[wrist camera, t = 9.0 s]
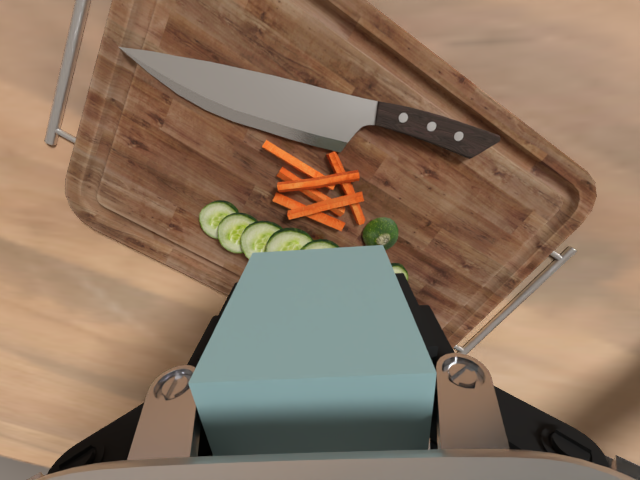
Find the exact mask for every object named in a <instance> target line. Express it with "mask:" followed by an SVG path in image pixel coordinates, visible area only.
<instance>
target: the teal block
mask: <svg viewBox="0 0 640 480" xmlns="http://www.w3.org/2000/svg"><path fill="white" fill-rule="evenodd" d="M436 375H437V372H436V370H435V368H434V365H433V363H432V360H431V358H430V356H429V353H428V351H427V349H426V346H425V344H424V341H423V339H422V337H421V334H420V332H419V330H418V327H417V325H416V322H415V320H414V318H413V315H412V313H411V311H410V308H409V306H408V303H407V301H406V299H405V296H404V294H403V292H402V289H401V287H400V284H399V282H398V280H397V277H396V275H395V273H394V270H393V268H392V265H391V263H390V261H389V258H388V256H387V254H386V251H385V249H384V246H383V245H375V246H358V247H341V248H324V249H308V250H291V251H274V252H257V253H252V255H251V257H250V259H249V261H248V263H247V265H246V267H245V269H244V271H243V273H242V275H241V277H240V279H239V281H238V283H237V286H236V288H235V290H234V292H233V294H232V296H231V298H230V300H229V302H228V304H227V306H226V308H225V310H224V312H223V314H222V316H221V318H220V320H219V322H218V324H217V326H216V328H215V330H214V332H213V334H212V336H211V338H210V340H209V342H208V344H207V346H206V348H205V350H204V352H203V354H202V356H201V358H200V360H199V362H198V364H197V366H196V368H195V370H194V372H193V374H192V376H191V378H190V381H189V383H188V384H189V387H190V390H191V393H192V396H193V399H194V401H195V404H196V407H197V410H198V413H199V416H200V419H201V422H202V425H203V427H204V430H205V433H206V436H207V439H208V442H209V445H210V448H211V451H212V454H213V456H228V455H255V454H286V453H318V452H352V451H391V450H428V446H429V437H430V428H431V419H432V410H433V402H434V393H435V384H436Z"/></svg>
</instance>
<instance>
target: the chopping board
mask: <svg viewBox="0 0 640 480" xmlns="http://www.w3.org/2000/svg"><path fill="white" fill-rule="evenodd" d="M90 2H91V0H75V5H74V9H73V14H72V18H71V23H70V27H69V32H68V36H67V41H66V45H65V50H64V54H63V59H62V63H61V68H60V72H59V77H58V82H57V86H56V91H55V95H54V100H53V104H52V109H51V113H50V118H49V122H48V127H47V131H46V136H45V140H44V141H45V142H46V143H47V144H49V145H57V141H58V137H59V135H60V136H62V137H64V138H66V139H67V140H69V141H71V142H73V143H75V144H74V148H73V152H72V156H71V160H70V163H69V167H68V171H67V175H66V179H65V195H66V197H67V200H68V202H69V205H70V208H71V209H72V210H73V211H74V213H75V214H76V215H77V216H78V217H79V219H80V220H81V221H83V222H84V223H86V224H87V225H88V226H90V227H91V228H93V229H94V230H96V231H98V232H100V233H102V234H104V235H106V236H109V237H111V238H113V239H115V240H117V241H119V242H121V243H123V244H125V245H127V246H129V247H131V248H133V249H135V250H137V251H139V252H141V253H143V254H145V255H147V256H149V257H151V258H153V259H155V260H157V261H159V262H161V263H164V264H166V265H168V266H170V267H172V268H174V269H176V270H178V271H180V272H182V273H184V274H186V275H188V276H190V277H192V278H194V279H196V280H198V281H200V282H202V283H204V284H206V285H208V286H210V287H212V288H214V289H216V290H219V291H221V292H223V293H225V294H227V295H229V294H230V292H231V290H232V288H233V286H234V284H235V283H236V282H238V281H239V279H240V277H241V275H242V273H243V271H244V269H245V267H246V265H247V263H248V261H249V259H250V257H251V255H252V253H257V252H274V251H291V250H308V249H324V248H341V247H358V246H375V245H383V246H384V249H385V251H386V254H387V256H388V258H389V261H390V263H391V265H392V268H393V270H394V273H404V275H405V277H406V279H407V281H408V283H409V285H410V288H411V290H412V292H413V294H414V296H415V298H416V300H417V302H418V304H419V305H429V306H430V308H431V309H432V311H433V313H434V315H435V317H436V319H437V321H438V323H439V324H440V326H441V328H442V330H443V332H444V334H445V336H446V338H447V340H448V341H449V343H450V345H451V347H452V348H455V349H457V350H459V351H458V352H457V353H461V354H465V355H466V354H467V353H469V352H470V351H471V350H472V349H473V348H474V347H475V346H476V345H477V344H478V343H479V342H480V341H481V340H483V339H484V338H485V337H486V336H487V335H488V334H489V333H490V332H491V331H492V330H493V329H494V328H495V327H496V326H498V325H499V324H500V323H501V322H502V321H503V320H504V319H505V318H506V317H507V316H508V315H509V314H510V313H512V312H513V311H514V310H515V309H516V308H517V307H518V306H519V305H520V304H521V303H522V302H523V301H524V300H526V299H527V298H528V297H529V296H530V295H531V294H532V293H533V292H534V291H535V290H536V289H537V288H538V287H539V286H541V285H542V284H543V283H544V282H545V281H546V280H547V279H548V278H549V277H550V276H551V275H552V274H553V273H555V272H556V271H557V270H558V269H559V268H560V267H561V266H562V265H563V264H564V263H565V262H566V261H567V260H568V259H570V258H571V257H572V256H573V255H574V254H575V253H576V252H577V250H575V249H574V248H572V247H570V246H569V247H567V248H566V249H565V250H564V251H563V252H562V253H561V254H559V253H557V252H556V251H554V250H555V249H556V248H557V247H558V246H559V245H560V244H561V243H562V242H564V241H565V240H566V239H567V238H568V237H569V236H570V235H571V234H572V233H573V232H574V231H575V230H576V229H577V228H578V227H579V226H580V225H581V224H582V223H583V222H584V220H585V219H586V218H587V216H588V215H589V214H590V212H591V211H592V208H593V205H594V202H595V200H596V197H597V195H596V186H595V181H594V180H593V179H592V177H591V176H590V175H589V173H588V172H587V171H586V170H585V169H583V168H582V167H581V166H579V165H578V164H577V163H576V162H574V161H573V160H572V159H570V158H569V157H568V156H566V155H565V154H564V153H563V152H561V151H560V150H559V149H557V148H556V147H555V146H554V145H552V144H551V143H550V142H548V141H547V140H546V139H545V138H543V137H542V136H541V135H539V134H538V133H537V132H535V131H534V130H533V129H532V128H530V127H529V126H528V125H526V124H525V123H524V122H523V121H521V120H520V119H519V118H517V117H516V116H515V115H513V114H512V113H511V112H510V111H508V110H507V109H506V108H504V107H503V106H502V105H501V104H499V103H498V102H497V101H495V100H494V99H493V98H492V97H490V96H489V95H488V94H486V93H485V92H484V91H482V90H481V89H480V88H479V87H477V86H476V85H475V84H473V83H472V82H471V81H470V80H468V79H467V78H466V77H464V76H463V75H462V74H460V73H459V72H458V71H457V70H455V69H454V68H453V67H451V66H450V65H449V64H448V63H446V62H445V61H444V60H442V59H441V58H440V57H439V56H437V55H436V54H435V53H433V52H432V51H431V50H429V49H428V48H427V47H426V46H424V45H423V44H422V43H420V42H419V41H418V40H417V39H415V38H414V37H413V36H411V35H410V34H409V33H407V32H406V31H405V30H404V29H402V28H401V27H400V26H398V25H397V24H396V23H395V22H393V21H392V20H391V19H389V18H388V17H387V16H386V15H384V14H383V13H382V12H380V11H379V10H378V9H376V8H375V7H374V6H373V5H371V4H370V3H369V2H367V1H366V0H112V3H111V7H110V11H109V14H108V18H107V22H106V26H105V30H104V34H103V37H102V41H101V45H100V49H99V53H98V56H97V60H96V64H95V68H94V72H93V76H92V79H91V83H90V87H89V91H88V95H87V98H86V102H85V106H84V110H83V114H82V118H81V121H80V125H79V129H78V133H77V137H75V136H73V135H71V134H69V133H67V132H66V131H64V130H62V129H60V128H61V124H62V120H63V116H64V111H65V107H66V103H67V99H68V95H69V90H70V86H71V82H72V78H73V74H74V69H75V65H76V61H77V57H78V53H79V49H80V44H81V40H82V36H83V32H84V28H85V23H86V19H87V15H88V11H89V7H90ZM549 255H551V256H552V257H554V258H555V260H554V261H553V262H552V263H551V264H550V265H549V266H547V267H546V268H545V269H544V270H543V271H542V272H541V273H540V274H539V275H538V276H537V277H536V278H535V279H534V280H533V281H532V282H531V283H530V284H529V285H527V286H526V287H525V288H524V289H523V290H522V291H521V292H520V293H519V294H518V295H517V296H516V297H515V298H514V299H513V300H512V301H511V302H510V303H509V304H507V305H506V306H505V307H504V308H503V309H502V310H501V311H500V312H499V313H498V314H497V315H496V316H495V317H494V318H493V319H492V320H491V321H490V322H489V323H487V324H486V325H485V326H484V327H483V328H482V329H481V330H480V331H479V332H478V333H477V334H476V335H475V336H474V337H473V338H472V339H471V340H470V341H469V342H467V343H466V344H465V345H464V346H463V347H461V346H459V345H457V344H458V343H459V342H460V341H461V340H462V339H463V338H464V337H465V336H466V335H467V334H468V333H469V332H470V331H471V330H472V329H473V328H474V327H475V326H476V325H477V324H478V323H479V322H480V321H482V320H483V319H484V318H485V317H486V316H487V315H488V314H489V313H490V312H491V311H492V310H493V309H494V308H495V307H496V306H497V305H498V304H499V303H500V302H501V301H502V300H503V299H504V298H505V297H506V296H507V295H509V294H510V293H511V292H512V291H513V290H514V289H515V288H516V287H517V286H518V285H519V284H520V283H521V282H522V281H523V280H524V279H525V278H526V277H527V276H528V275H529V274H530V273H531V272H532V271H533V270H534V269H536V268H537V267H538V266H539V265H540V264H541V263H542V262H543V261H544V260H545V259H546V258H547V257H548V256H549Z"/></svg>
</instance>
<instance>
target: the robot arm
mask: <svg viewBox="0 0 640 480" xmlns="http://www.w3.org/2000/svg"><path fill="white" fill-rule="evenodd" d="M395 275H396V277H397V280H398V282H399V284H400V287H401V289H402V292H403V294H404V296H405V299H406V301H407V303H408V306H409V308H410V311H411V313H412V315H413V318H414V320H415V322H416V325H417V327H418V330H419V332H420V334H421V337H422V339H423V341H424V344H425V346H426V349H427V351H428V353H429V356H430V358H431V360H432V363H433V365H434V368H435V370H436V372H437V375H436V384H435V393H434V402H433V410H432V419H431V428H430V437H429V446H428V448H429V450H391V451H352V452H318V453H286V454H255V455H228V456H213V454H212V451H211V448H210V445H209V442H208V439H207V436H206V433H205V430H204V427H203V425H202V422H201V419H200V416H199V413H198V410H197V407H196V404H195V401H194V399H193V396H192V393H191V390H190V387H189V384H188V383H189V381H190V378H191V376H192V374H193V372H194V370H195V368H196V366H197V364H198V362H199V360H200V358H201V356H202V354H203V352H204V350H205V348H206V346H207V344H208V342H209V340H210V338H211V336H212V334H213V332H214V330H215V328H216V326H217V324H218V322H219V320H220V318H221V316H222V314H223V312H224V310H225V308H226V306H227V304H228V302H229V300H230V298H231V296H232V294H233V292H234V290H235V288H236V286H237V283H238V282H236V283H235V284H234V286H233V288H232V290H231V292H230V294H229V296H228V298H227V300H226V301H225V303H224V305H223V307H222V309H221V311H220V313H219V315H218V316H214V317H213V318H212V319H211V321H210V323H209V325H208V327H207V329H206V331H205V332H204V334H203V336H202V338H201V340H200V342H199V344H198V346H197V347H196V349H195V351H194V353H193V355H192V357H191V359H190V361H189V362H188V364H187V365H180V366H176V367H173V368H170V369H169V370H167V371H165V372H163V373H162V374H161V375H159V376H158V377H157V378H156V379H155V380H154V381H153V382H152V384H151V385H150V387H149V390H148V392H147V396H146V399H145V402H144V403H143V404H141V405H140V406H138V407H136V408H135V409H133V410H131V411H130V412H128V413H127V414H125V415H123V416H122V417H120V418H118V419H117V420H115V421H114V422H112V423H110V424H109V425H107V426H105V427H104V428H102V429H101V430H99V431H97V432H96V433H94V434H92V435H91V436H89V437H87V438H86V439H84V440H83V441H81V442H79V443H78V444H76V445H75V446H73V447H72V448H70V449H69V450H68V451H66V452H65V453H64V454H63V455H62V456H61V457H60V458H59V459H58V460H57V461H56V462H55V463H54V465H53V466H52V467H51V469H50V470H49V472H48V474H46V475H43V474H42V473H41V472H40V473H38V474H36V475H34V476H32V477H31V478H29V479H27V480H640V466H638V465H636V464H634V463H632V462H630V461H627V460H625V459H623V458H621V457H619V456H617V455H616V456H615V458H614V459H612V458H609V457H607V456H605V455H604V453H603V452H602V451H601V450H600V448H599V447H598V446H597V445H596V444H595V443H594V442H593V441H592V440H591V439H590V438H588V437H587V436H586V435H585V434H583V433H581V432H580V431H578V430H577V429H575V428H573V427H571V426H569V425H567V424H566V423H564V422H562V421H560V420H558V419H556V418H554V417H552V416H550V415H548V414H546V413H545V412H543V411H541V410H539V409H537V408H535V407H533V406H531V405H529V404H527V403H526V402H524V401H522V400H520V399H518V398H516V397H514V396H512V395H510V394H508V393H507V392H505V391H503V390H501V389H499V388H497V387H495V386H494V385H493V381H492V377H491V375H490V373H489V370H488V369H487V368H486V367H485V366H484V365H483V364H482V363H481V362H480V361H478V360H477V359H475V358H473V357H471V356H468V355H465V354H461V353H454V351H453V349H452V347H451V345H450V343H449V341H448V340H447V338H446V336H445V334H444V332H443V330H442V328H441V326H440V324H439V323H438V321H437V319H436V317H435V315H434V313H433V311H432V309H431V308H430V306H429V305H419V304H418V302H417V300H416V298H415V296H414V294H413V292H412V290H411V288H410V285H409V283H408V281H407V279H406V277H405V275H404V273H395Z"/></svg>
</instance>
